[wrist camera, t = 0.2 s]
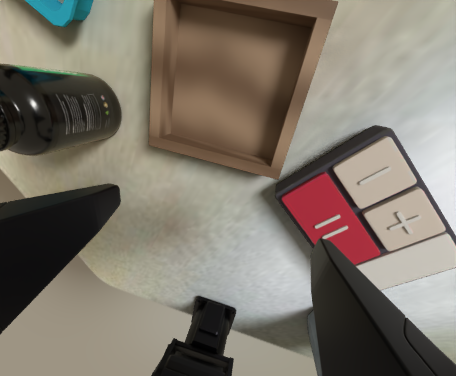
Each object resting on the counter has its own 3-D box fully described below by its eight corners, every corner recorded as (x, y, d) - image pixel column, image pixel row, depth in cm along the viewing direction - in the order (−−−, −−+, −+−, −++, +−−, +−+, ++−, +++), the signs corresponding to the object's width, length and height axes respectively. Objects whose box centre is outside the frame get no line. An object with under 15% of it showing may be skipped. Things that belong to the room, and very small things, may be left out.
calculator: (395, 126, 16) (480, 269, 18) (373, 122, 20) (445, 240, 22) (272, 198, 20) (353, 306, 22) (274, 183, 24) (342, 276, 26)
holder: (277, 168, 22) (278, 179, 19) (164, 138, 24) (148, 145, 21) (327, 18, 17) (338, 1, 14) (174, -10, 18) (154, -31, 15)
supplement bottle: (83, 58, 22) (-103, 22, 11) (134, 106, 23) (7, 116, 12) (62, 109, 25) (-102, 119, 14) (108, 149, 26) (-13, 188, 15)
